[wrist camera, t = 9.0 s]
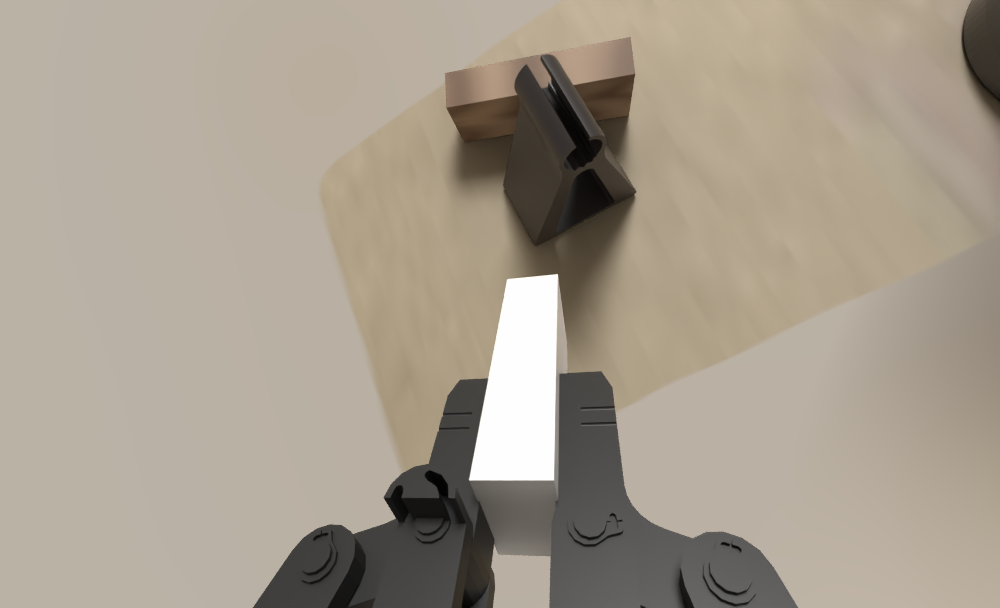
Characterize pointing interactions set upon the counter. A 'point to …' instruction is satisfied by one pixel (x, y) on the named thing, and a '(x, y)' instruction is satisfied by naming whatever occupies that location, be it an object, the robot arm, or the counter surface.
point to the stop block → (495, 105)
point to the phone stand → (559, 157)
